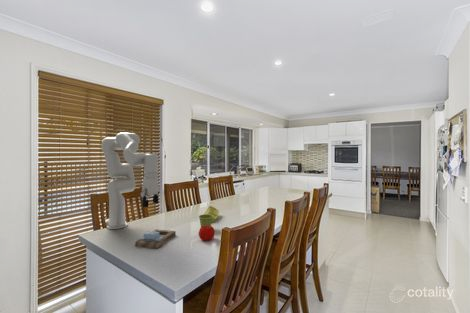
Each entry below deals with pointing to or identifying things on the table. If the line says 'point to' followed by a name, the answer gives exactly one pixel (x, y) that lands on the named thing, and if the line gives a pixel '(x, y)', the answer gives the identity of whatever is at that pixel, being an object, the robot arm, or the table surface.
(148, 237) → the light blue drawer box
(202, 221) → the plant pot
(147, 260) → the table surface
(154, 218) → the table surface
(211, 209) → the plastic component
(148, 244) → the tray
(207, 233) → the tomato
